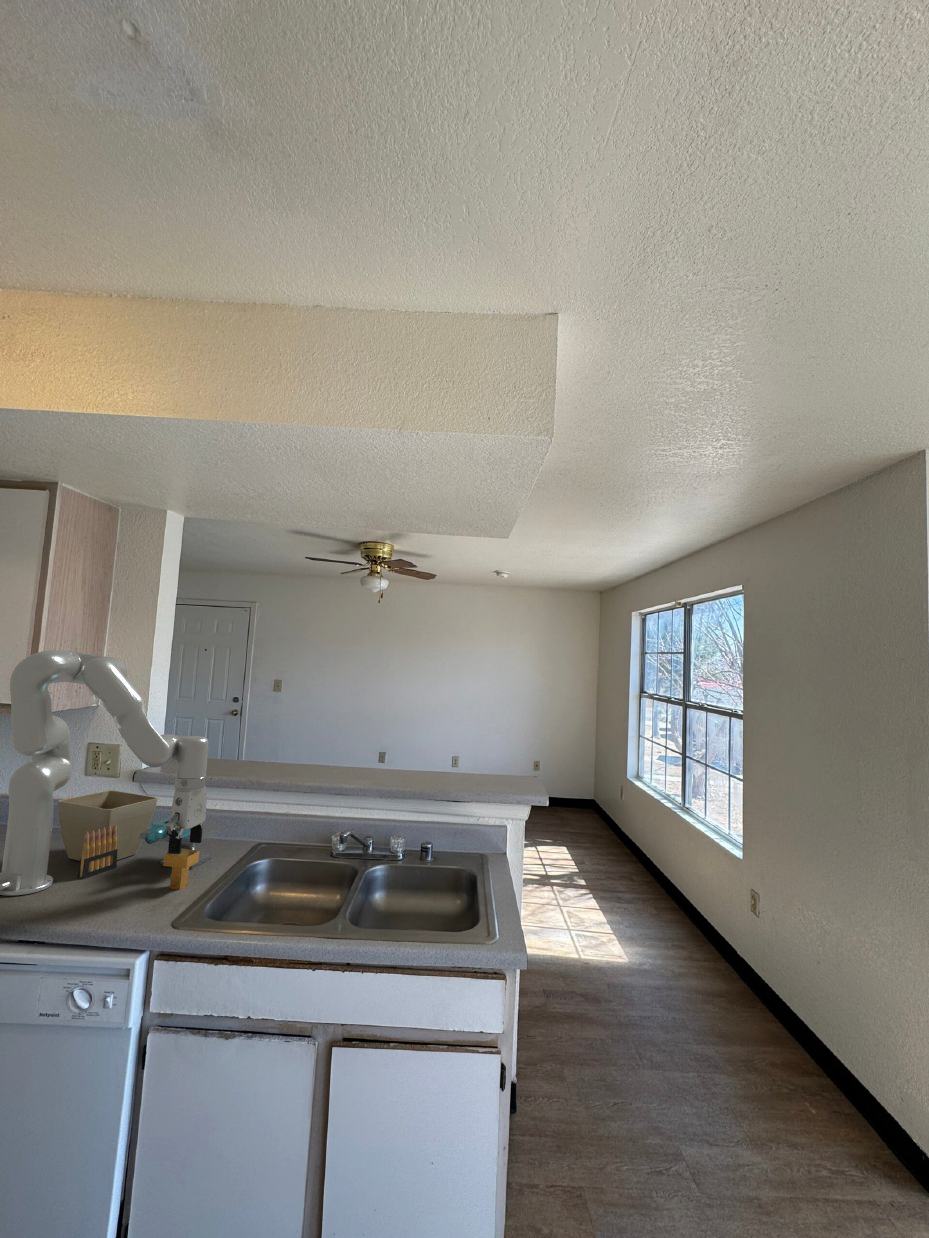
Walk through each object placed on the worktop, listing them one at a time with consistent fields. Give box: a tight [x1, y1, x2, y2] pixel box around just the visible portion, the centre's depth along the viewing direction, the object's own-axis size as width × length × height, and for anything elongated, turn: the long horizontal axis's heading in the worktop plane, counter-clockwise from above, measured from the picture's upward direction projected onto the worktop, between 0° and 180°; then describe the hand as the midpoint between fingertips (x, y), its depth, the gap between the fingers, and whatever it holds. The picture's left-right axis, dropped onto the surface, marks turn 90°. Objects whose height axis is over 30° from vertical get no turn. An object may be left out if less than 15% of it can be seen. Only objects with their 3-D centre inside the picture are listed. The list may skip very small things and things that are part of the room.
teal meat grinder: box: [139, 815, 226, 870], centre depth 175 cm, size 25×16×15 cm, turn 173°
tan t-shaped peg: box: [162, 848, 200, 891], centre depth 162 cm, size 6×6×9 cm
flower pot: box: [57, 789, 159, 862], centre depth 180 cm, size 19×19×17 cm
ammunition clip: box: [77, 824, 118, 880], centre depth 168 cm, size 11×2×12 cm, turn 162°
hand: (185, 847), depth 163 cm, fingers open, 9 cm apart
